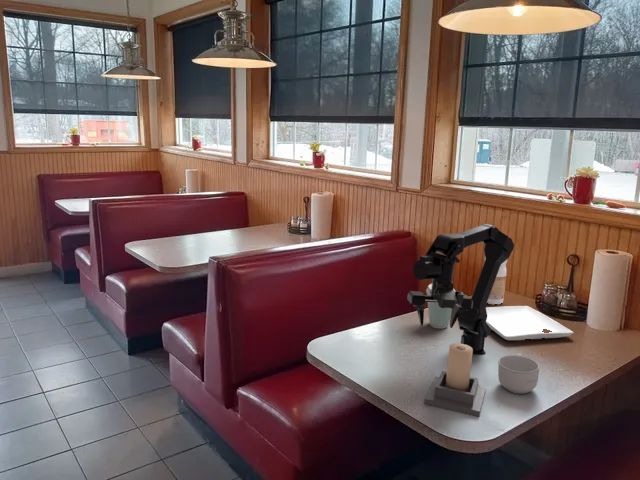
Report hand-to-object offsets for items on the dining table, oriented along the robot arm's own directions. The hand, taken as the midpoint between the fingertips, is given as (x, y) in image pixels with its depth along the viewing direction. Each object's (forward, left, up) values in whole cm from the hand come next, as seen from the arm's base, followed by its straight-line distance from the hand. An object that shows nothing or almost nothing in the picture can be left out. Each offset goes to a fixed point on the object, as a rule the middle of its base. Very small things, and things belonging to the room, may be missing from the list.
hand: (436, 326), depth 159 cm
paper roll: (0, +21, -11) cm, 23 cm away
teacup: (-20, +15, -12) cm, 28 cm away
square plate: (-40, -28, -13) cm, 51 cm away
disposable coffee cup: (-11, -30, -12) cm, 35 cm away
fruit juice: (-42, -57, -12) cm, 72 cm away
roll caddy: (0, +21, -12) cm, 24 cm away
